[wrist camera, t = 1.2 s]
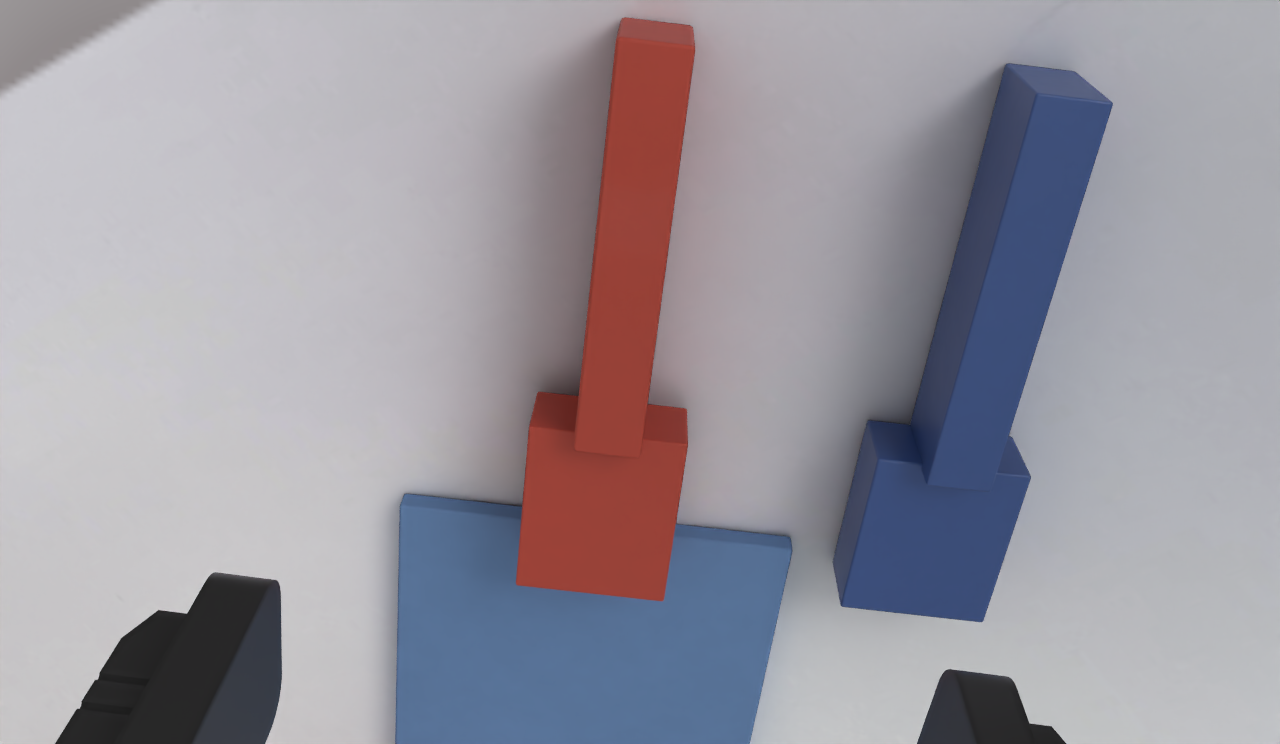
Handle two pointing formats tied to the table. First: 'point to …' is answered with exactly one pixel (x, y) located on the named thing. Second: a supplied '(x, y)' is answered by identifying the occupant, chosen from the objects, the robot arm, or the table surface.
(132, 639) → the robot arm
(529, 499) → the red wooden stick
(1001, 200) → the blue toy mallet
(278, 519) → the table surface
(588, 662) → the blue mat
